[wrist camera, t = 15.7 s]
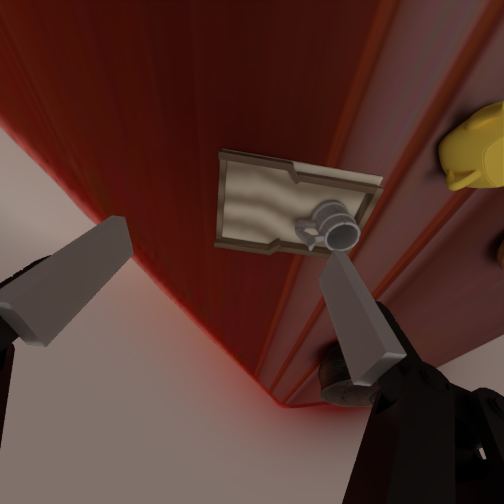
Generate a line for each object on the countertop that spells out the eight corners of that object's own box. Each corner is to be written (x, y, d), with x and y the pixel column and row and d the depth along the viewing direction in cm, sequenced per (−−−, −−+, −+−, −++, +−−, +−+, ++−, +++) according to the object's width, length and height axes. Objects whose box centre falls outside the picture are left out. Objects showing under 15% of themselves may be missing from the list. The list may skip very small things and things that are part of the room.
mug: (344, 227, 45) (367, 259, 35) (292, 234, 47) (300, 266, 37) (347, 195, 41) (374, 221, 31) (290, 204, 42) (298, 231, 33)
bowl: (319, 369, 86) (328, 412, 73) (305, 339, 73) (314, 385, 61) (380, 361, 80) (402, 406, 67) (378, 326, 67) (404, 374, 54)
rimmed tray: (222, 148, 38) (218, 151, 35) (380, 176, 39) (391, 181, 36) (217, 237, 49) (214, 246, 46) (339, 256, 51) (344, 266, 48)
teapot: (409, 179, 39) (449, 196, 31) (448, 98, 32) (514, 92, 24) (478, 182, 39) (537, 201, 31) (533, 102, 32) (631, 97, 23)
